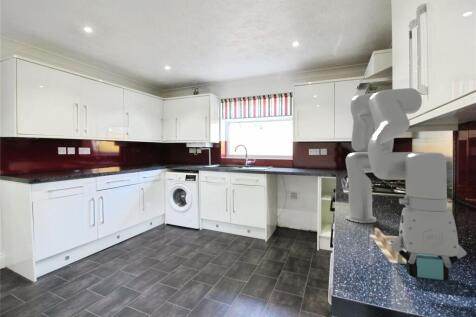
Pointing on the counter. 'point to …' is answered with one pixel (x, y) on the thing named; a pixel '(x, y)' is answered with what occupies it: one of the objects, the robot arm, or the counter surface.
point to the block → (429, 266)
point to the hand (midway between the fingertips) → (427, 279)
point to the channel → (388, 246)
